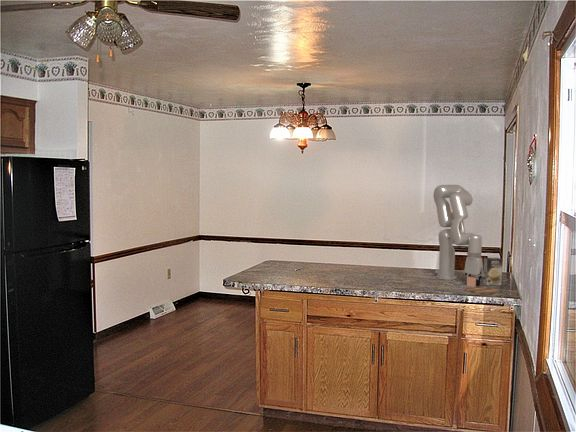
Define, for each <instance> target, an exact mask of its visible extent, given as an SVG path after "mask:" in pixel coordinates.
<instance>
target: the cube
mask: <svg viewBox="0 0 576 432" xmlns="http://www.w3.org/2000/svg"><path fill="white" fill-rule="evenodd" d="M476 280H477V277H476V275H471V276H469V277H466V287H469V288H472V287H477V286H476Z"/></svg>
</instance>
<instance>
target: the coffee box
mask: <svg viewBox="0 0 576 432" xmlns="http://www.w3.org/2000/svg"><path fill="white" fill-rule="evenodd" d="M483 272H484V273H485V276H484V277H483V278H482V284H484V285H485V286H502V279H503V278H502V275H503V259H502V258H500V257H483Z"/></svg>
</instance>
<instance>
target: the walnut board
mask: <svg viewBox="0 0 576 432" xmlns="http://www.w3.org/2000/svg"><path fill="white" fill-rule="evenodd" d="M501 291H502V290H501V289H496V288H492V287H487V286H481V285H480V286H477V287H467V288H464V292H469V293H471V294H477V295H482V296H490V295H494V294H495V295H496V294H499V292H500V293H501Z"/></svg>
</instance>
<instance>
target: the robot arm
mask: <svg viewBox="0 0 576 432" xmlns="http://www.w3.org/2000/svg"><path fill="white" fill-rule="evenodd" d="M433 199H434V200H433V201H434V203H435V206H436V212H437V220H438V224H439V226H440V227H442V228H446V229H442V230H440V231H439V233H438V238H437V239H438V243H439V263H438V269H436V270H435V271H434V274H436V276H435V277H436V279H438V280H439V279H440V280H444V281H445V280H446V281H447V280H448V281H450V280H451V281H452V280H456V279H457V278H458V277H457V276H456V275H455V267H456V266H455V263H456V249H455V247H454V245H456V246H458V247H459V246H463V247H464V246H467V247H468V249H467V252H466V255H467V256H466V259H465V264H464V269H463V270H462V272H463V274H464V275H465V277H466V278H467V277H469V276H476V277H477V280H476V286H481V280H483V277H484V276H485V273H484V261H483V258H482V245H483V242H482V241H483V237H482V236H481V235H480V234H475V233H474V232H466V229H465V220H466V219H467V218H468V217H469V213H468V210H467V209H468V208H467V206H468V207H470V206H471V205H472V203H473V201H474V200H473V196H472V194H471V193H470V192H469V191H468V190H467V189H465V188H464V187H462V186H461V185H459V184H439V185H437V186H436V187H434V190H433ZM447 199H449V201H448V200H447Z"/></svg>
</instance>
